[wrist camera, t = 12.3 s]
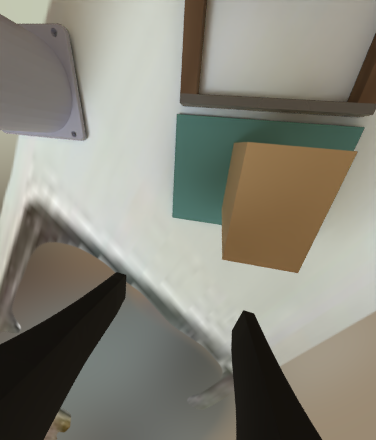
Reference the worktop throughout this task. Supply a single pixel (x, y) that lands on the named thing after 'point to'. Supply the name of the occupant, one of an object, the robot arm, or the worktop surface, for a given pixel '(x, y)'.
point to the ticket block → (278, 201)
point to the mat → (222, 151)
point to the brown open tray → (189, 96)
